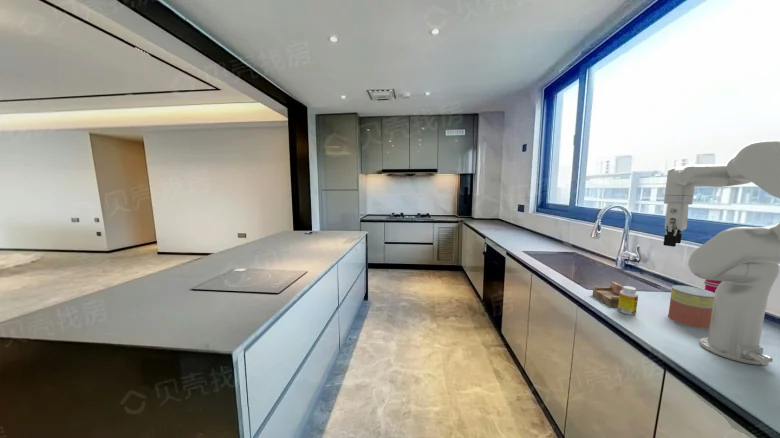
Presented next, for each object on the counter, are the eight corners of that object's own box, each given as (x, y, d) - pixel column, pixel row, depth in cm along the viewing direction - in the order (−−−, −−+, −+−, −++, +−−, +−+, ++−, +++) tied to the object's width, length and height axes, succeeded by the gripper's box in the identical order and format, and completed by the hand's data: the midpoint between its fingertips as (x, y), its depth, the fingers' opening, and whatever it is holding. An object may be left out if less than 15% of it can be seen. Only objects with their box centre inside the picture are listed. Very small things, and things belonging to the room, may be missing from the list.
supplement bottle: (635, 316, 105) (638, 291, 104) (616, 312, 109) (619, 287, 108) (636, 312, 109) (639, 287, 108) (618, 307, 113) (621, 284, 112)
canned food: (722, 331, 95) (727, 298, 94) (683, 327, 98) (688, 295, 96) (694, 316, 106) (698, 286, 105) (660, 313, 108) (663, 284, 107)
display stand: (630, 307, 113) (632, 291, 112) (610, 306, 114) (611, 290, 113) (611, 296, 125) (612, 281, 124) (592, 295, 126) (593, 280, 125)
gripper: (688, 201, 95) (681, 249, 97) (696, 200, 105) (690, 243, 107) (659, 200, 101) (653, 245, 103) (668, 199, 111) (663, 240, 113)
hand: (672, 244), depth 105 cm, fingers open, 9 cm apart
